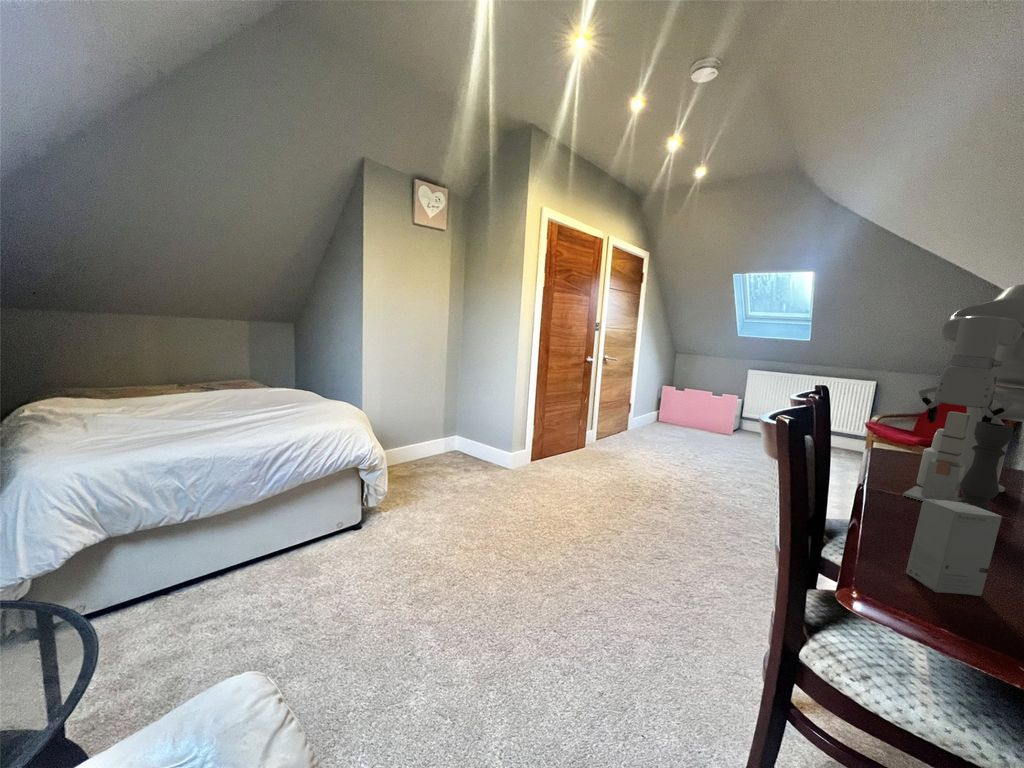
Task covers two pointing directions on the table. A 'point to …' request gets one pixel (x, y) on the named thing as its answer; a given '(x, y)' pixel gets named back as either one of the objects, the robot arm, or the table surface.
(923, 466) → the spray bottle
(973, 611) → the table surface
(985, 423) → the candle holder
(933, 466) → the white blocky piece
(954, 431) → the jack column
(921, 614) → the table surface
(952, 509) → the skincare box
